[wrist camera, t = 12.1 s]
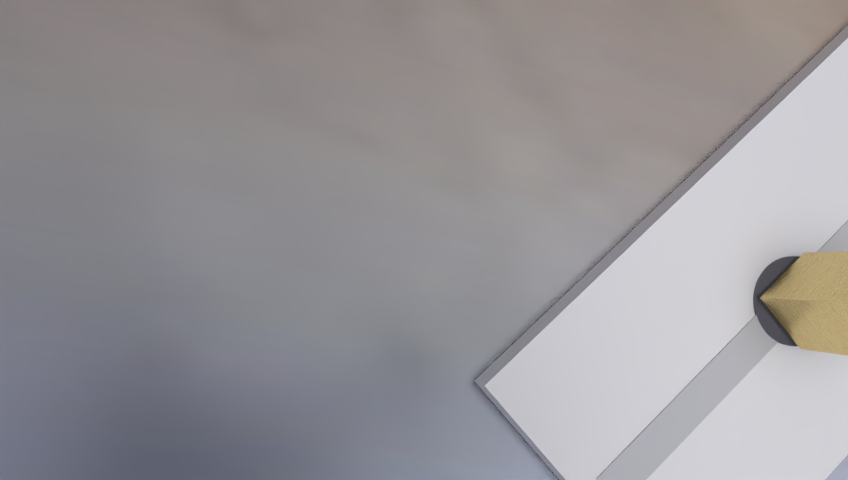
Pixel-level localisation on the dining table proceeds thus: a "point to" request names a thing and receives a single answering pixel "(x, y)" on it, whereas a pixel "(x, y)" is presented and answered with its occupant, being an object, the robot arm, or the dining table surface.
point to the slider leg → (813, 301)
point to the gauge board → (701, 317)
